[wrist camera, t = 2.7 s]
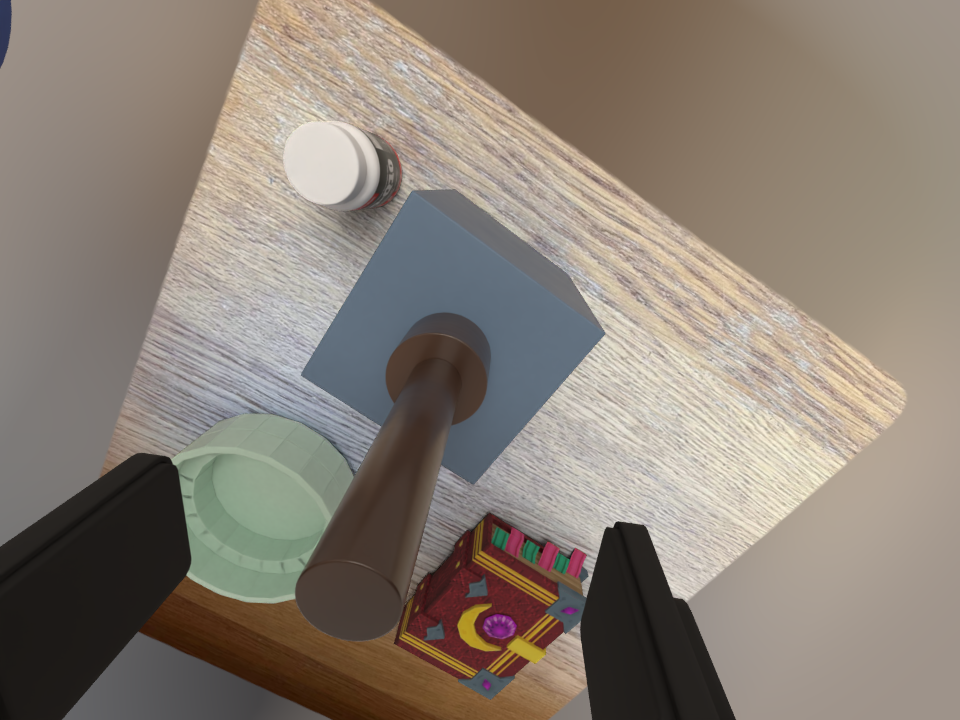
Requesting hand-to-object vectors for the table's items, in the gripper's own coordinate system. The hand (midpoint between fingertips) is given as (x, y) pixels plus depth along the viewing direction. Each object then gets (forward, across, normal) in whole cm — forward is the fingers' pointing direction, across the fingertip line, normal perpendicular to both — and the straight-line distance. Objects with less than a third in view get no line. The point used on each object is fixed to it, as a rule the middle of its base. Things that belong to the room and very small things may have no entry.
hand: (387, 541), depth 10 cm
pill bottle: (+25, +8, -8) cm, 28 cm away
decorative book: (+26, -4, +28) cm, 38 cm away
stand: (+25, 0, 0) cm, 25 cm away
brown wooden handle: (+11, 0, 0) cm, 11 cm away
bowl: (+25, +16, +20) cm, 36 cm away
